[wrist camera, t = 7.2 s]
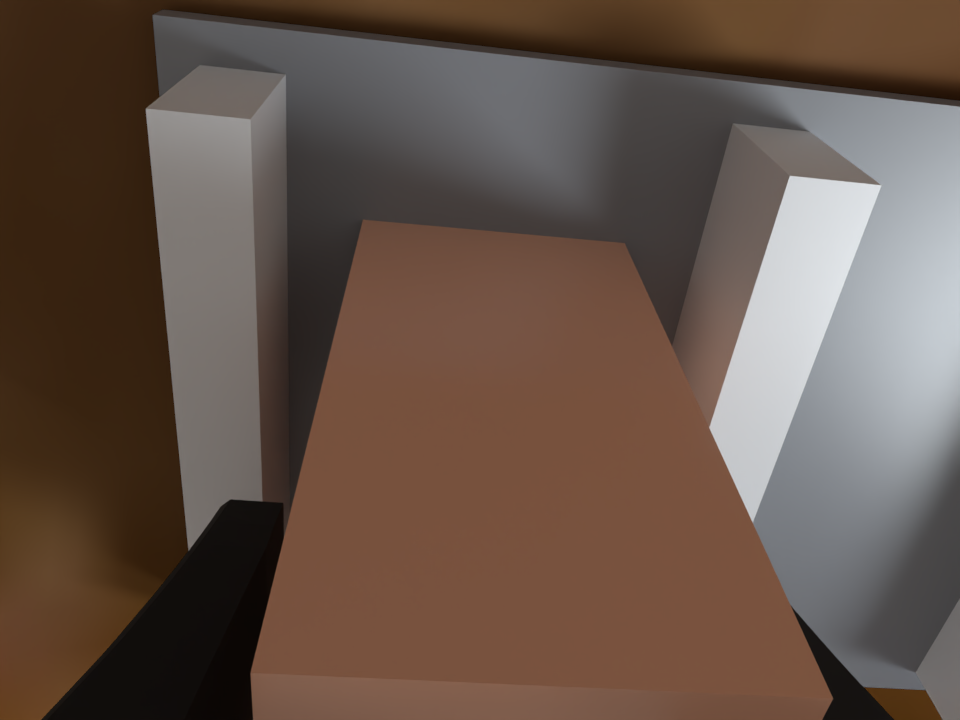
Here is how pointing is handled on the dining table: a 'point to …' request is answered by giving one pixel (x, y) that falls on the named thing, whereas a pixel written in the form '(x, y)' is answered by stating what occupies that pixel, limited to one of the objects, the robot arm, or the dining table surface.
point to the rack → (602, 217)
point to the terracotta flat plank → (518, 507)
